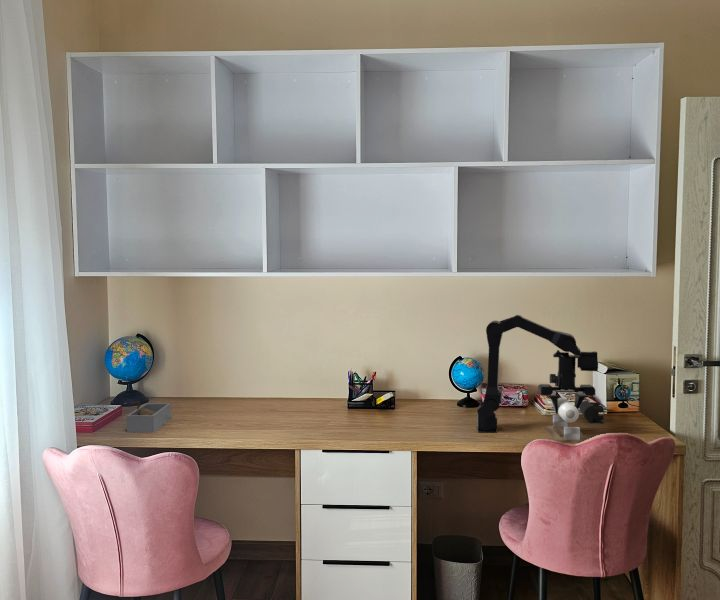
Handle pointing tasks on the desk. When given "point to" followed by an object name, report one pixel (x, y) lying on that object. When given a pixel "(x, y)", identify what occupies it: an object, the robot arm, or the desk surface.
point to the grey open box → (143, 410)
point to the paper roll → (567, 410)
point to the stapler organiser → (149, 418)
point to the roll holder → (564, 431)
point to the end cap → (592, 411)
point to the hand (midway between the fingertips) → (565, 414)
